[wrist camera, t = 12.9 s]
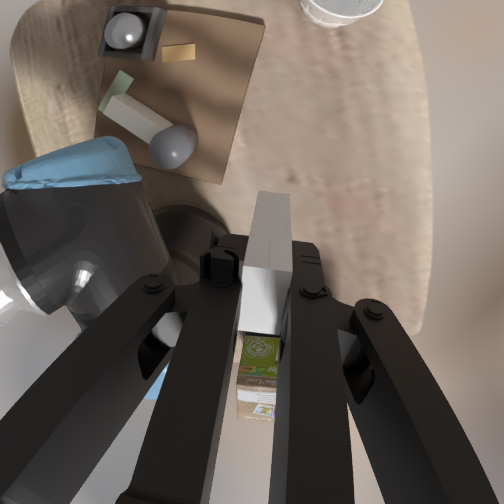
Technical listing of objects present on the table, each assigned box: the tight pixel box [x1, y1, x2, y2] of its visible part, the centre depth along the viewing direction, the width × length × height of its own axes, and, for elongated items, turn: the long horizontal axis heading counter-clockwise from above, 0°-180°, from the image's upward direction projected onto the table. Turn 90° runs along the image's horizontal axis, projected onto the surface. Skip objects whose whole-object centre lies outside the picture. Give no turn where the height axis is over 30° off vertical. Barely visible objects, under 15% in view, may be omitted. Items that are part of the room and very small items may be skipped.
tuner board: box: [94, 6, 266, 185], centre depth 33 cm, size 20×18×4 cm
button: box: [104, 13, 149, 49], centre depth 28 cm, size 4×4×3 cm
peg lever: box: [103, 94, 198, 169], centre depth 33 cm, size 12×4×5 cm, turn 53°
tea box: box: [236, 331, 281, 422], centre depth 47 cm, size 15×10×15 cm, turn 89°
